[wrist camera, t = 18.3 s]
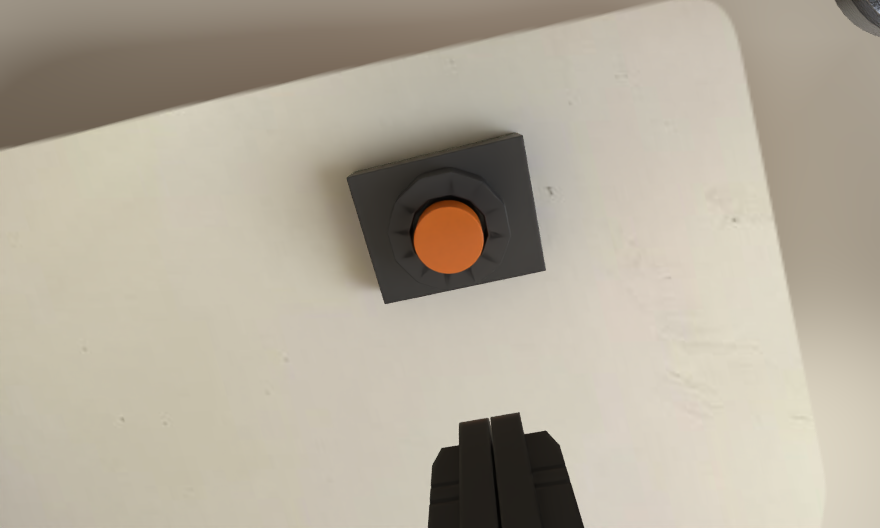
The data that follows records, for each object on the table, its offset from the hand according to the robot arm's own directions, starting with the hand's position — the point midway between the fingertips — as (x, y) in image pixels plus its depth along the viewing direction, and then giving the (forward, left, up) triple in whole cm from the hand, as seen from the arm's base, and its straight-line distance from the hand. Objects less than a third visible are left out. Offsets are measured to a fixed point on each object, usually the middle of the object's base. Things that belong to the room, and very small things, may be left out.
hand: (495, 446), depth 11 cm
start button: (+1, -2, -15) cm, 15 cm away
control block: (+1, -2, -19) cm, 19 cm away
